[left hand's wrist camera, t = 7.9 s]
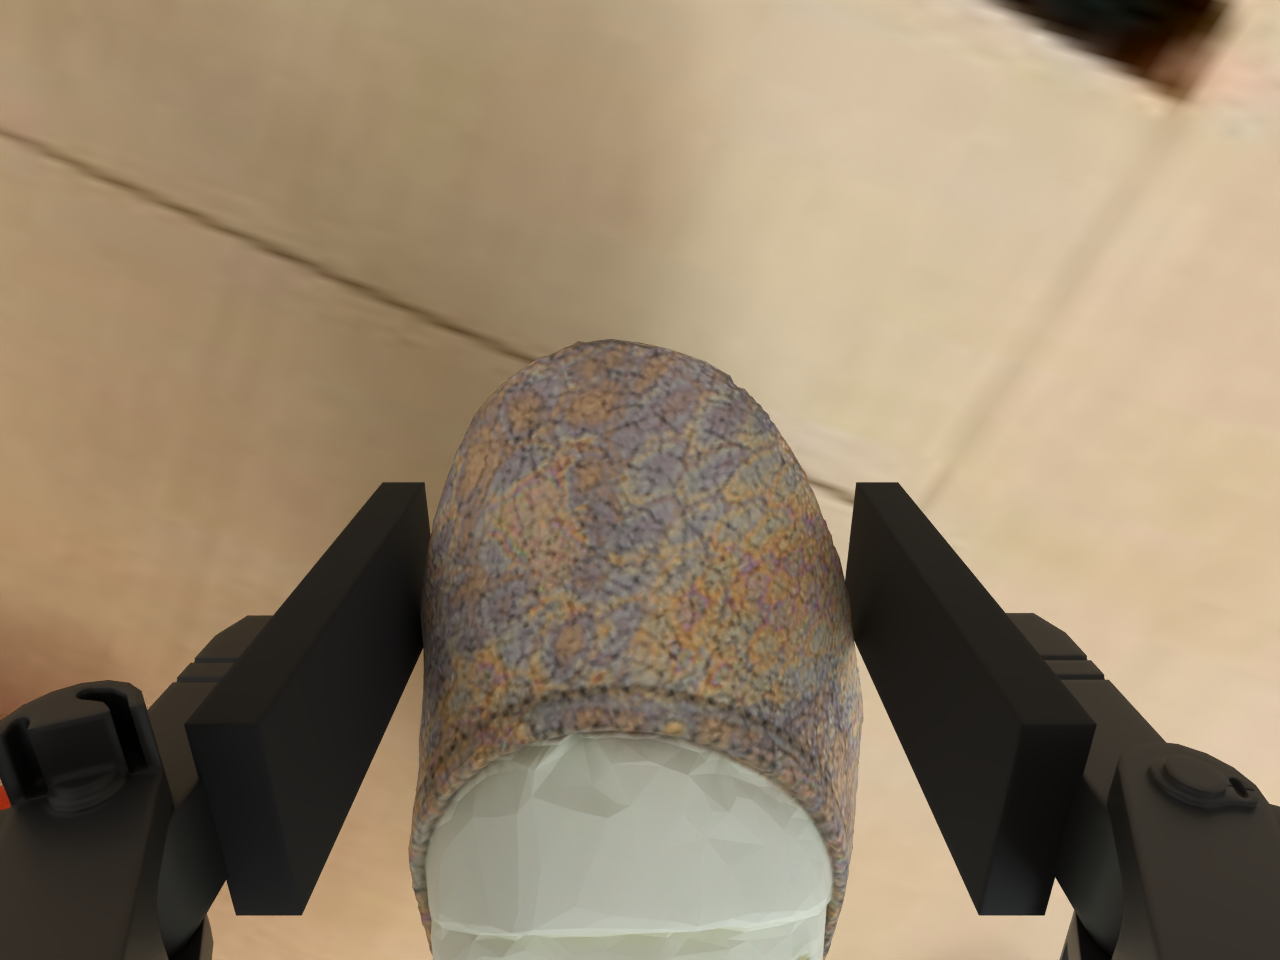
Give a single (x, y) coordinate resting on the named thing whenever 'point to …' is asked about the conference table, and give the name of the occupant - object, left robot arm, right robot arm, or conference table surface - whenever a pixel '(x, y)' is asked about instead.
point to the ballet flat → (632, 677)
